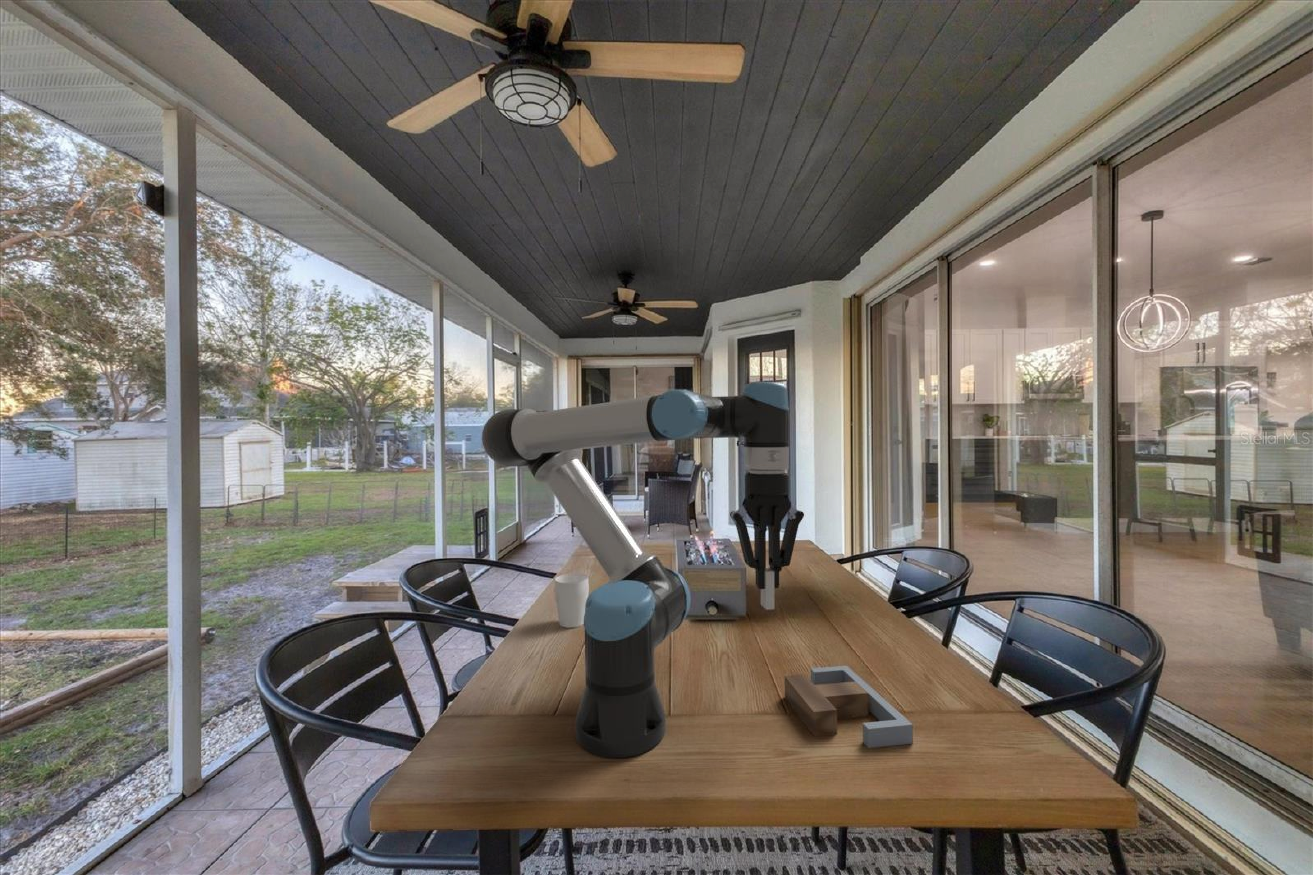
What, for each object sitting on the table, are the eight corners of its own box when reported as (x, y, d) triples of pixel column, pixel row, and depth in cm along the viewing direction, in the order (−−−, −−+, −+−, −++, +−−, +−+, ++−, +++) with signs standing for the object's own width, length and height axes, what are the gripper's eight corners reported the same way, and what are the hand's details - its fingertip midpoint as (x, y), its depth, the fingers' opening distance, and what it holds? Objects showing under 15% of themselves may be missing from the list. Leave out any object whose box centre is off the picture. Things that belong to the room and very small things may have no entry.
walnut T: (814, 736, 79) (813, 711, 79) (784, 697, 91) (784, 676, 91) (882, 729, 81) (881, 705, 81) (844, 691, 92) (844, 671, 92)
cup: (553, 619, 131) (552, 575, 131) (586, 615, 134) (585, 572, 134) (556, 632, 122) (556, 584, 122) (592, 627, 125) (591, 581, 125)
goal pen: (868, 748, 76) (868, 729, 76) (810, 683, 96) (810, 668, 96) (913, 743, 77) (912, 724, 77) (846, 680, 97) (846, 665, 97)
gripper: (736, 473, 79) (737, 616, 80) (811, 472, 81) (812, 612, 81) (724, 470, 87) (725, 601, 87) (793, 469, 89) (794, 597, 89)
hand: (767, 606), depth 84 cm, fingers closed
